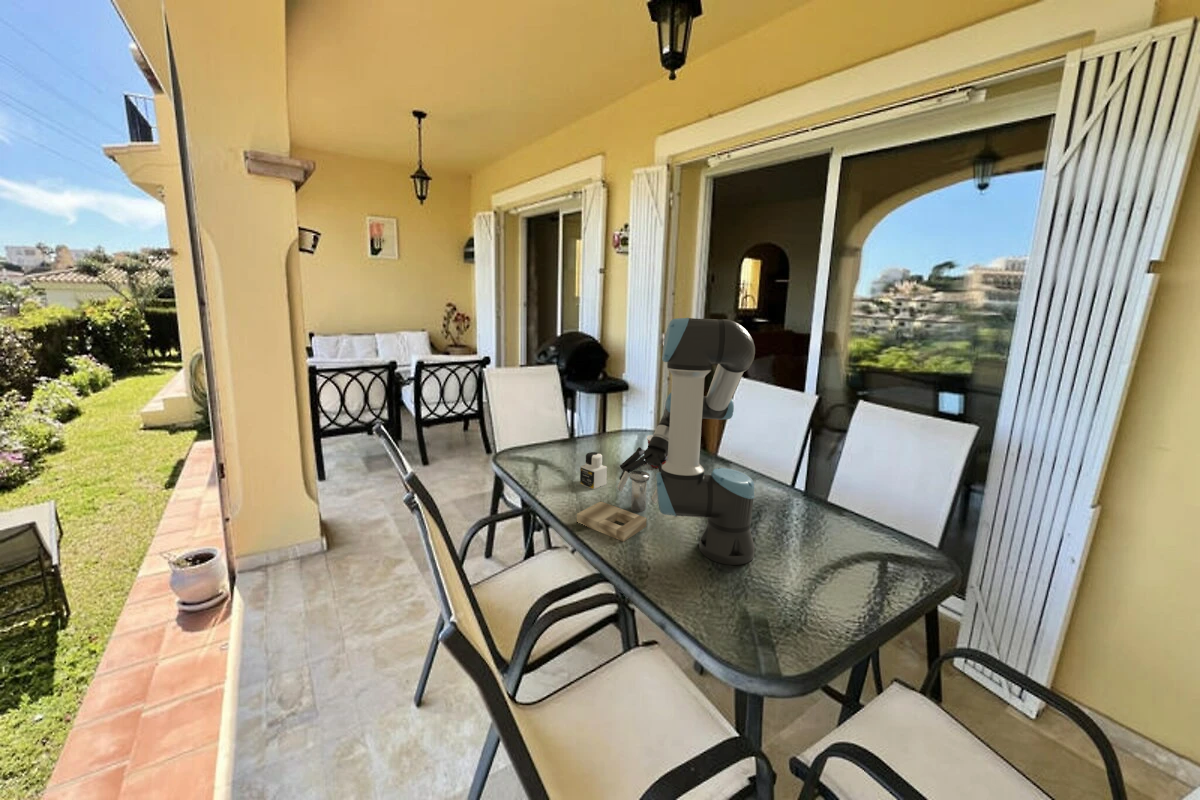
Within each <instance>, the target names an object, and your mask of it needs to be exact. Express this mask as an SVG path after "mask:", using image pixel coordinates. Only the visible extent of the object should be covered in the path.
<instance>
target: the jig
mask: <svg viewBox="0 0 1200 800" xmlns="http://www.w3.org/2000/svg"><path fill="white" fill-rule="evenodd" d="M647 521H648V519H647V517H645V516H642V515H639V514H636V513H635V512H631V511H628V510H626V509H622V508H620V507H618V506H614V505H612V504H609V503H606V502H604V501H599V502H596V503H594V504H593V505H591V506H589V507H587V508H585V509H583V510H581V511H579V512H577V513H576V523H577V522H578V523H577V524H579V523H581V524H583V525H582V526H584V525H585V527H586V526H587V528H589V529H592V530H594V531H596V532H599V533H601V534H603V535H606V536H609V537H611V538H613V539H616V540H618V541H621V542H624V543H625V542H626V541H627V540H629V539H630V538H632V537H633V536H635V535H636V534H638V533H640V532H641V531H642V530H643V529H645V528H647ZM615 522H619V523H623V524H622V525H619V524H617V523H615ZM581 524H580V525H581Z"/></svg>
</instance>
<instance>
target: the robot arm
mask: <svg viewBox="0 0 1200 800" xmlns="http://www.w3.org/2000/svg"><path fill="white" fill-rule="evenodd" d="M755 354H756V346H755V343H754V339H753V338H752V336H751V334H750V333H749V332H748V330H747V329H746V328H745V327H744V326H742V325H741V324H740V323H738V322H736V321H734V320H730V319H726V318H725V319H723V318H722V319H714V318H713V319H712V318H694V317H692V318H690V317H684V318H683V317H681V318H673V319H671V320H670V321H669V323H668V325H667V328H666V333H665V335H664V342H663V348H662V356H661V360H662V362H663V363H666V364H667V365H666V369H667V371H668V372H670V374H671V392H670V393H669V394H668V395H667V398H666V400H665V405H664V409H663V414H662V417H661V418H660V421H659V423H658V425H657V427H656V428H655V431H654V433H653V434H652V435H653V437H652V438H651V440H650V442H649V444H648V443H647V448H646V449H642V448H641V447H639V446H638V448H637V449H636V450H635V452H634V453H633V454H631V455H630V456H629V457H628V458H627V459H626V460H625V461H623V463H621V464H620V465H619V468H620V469H621V470H622V473H621V474H620V476H619V482H618V484H617V485H616V486H617V487H616V488H617V490H618V491H619V492H622V491H624V487H625V485H626V484H627V481H628V480H629V479H630V473H631V472H633V471H636V470H637V469H639V468H640V467H642V466H645V465H649V466H651V465H653V466H655V467H656V466H658V468H657V469H658V472H656V473H655V481H656V482H655V483H656V487H655V490H654V492H653V494H652V496H651V498H650V500H651V501H652V502H653V503H654V504H656V503H657V502H658V509H659V512H660V513H661V514H662V515H666V516H674V517H690V518H691V517H692V518H707V523H706V525H705V527H704V529H703V531H702V533H701V536H700V538H699V544H698V545H699V546H698V549H699V551H700V553H701V554H702V555H704V557H706V558H707V559H709V560H711V561H713V562H715V563H719V564H724V565H729V566H730V565H731V566H734V565H735V566H740V565H743V564H744V565H745V564H748V563H750V562H751V561H752V560H753V559H754V557H755V542H754V540H753V535H752V531H751V524H752V516H753V515H752V514H753V509H754V508H753V507H754V506H753V505H754V499H755V483H754V480H753V479H752V478H751V477H750V476H749V475H747V474H746V473H744V472H742V471H739V470H735V469H731V468H728V467H718V468H713V470H712V471H711V472H710V474H705V469H704V467H703V466H702V465H701V464H700V453H701V452H700V451H701V439H702V438H701V437H702V424H703V423H702V421H703V419H707V420H719V421H721V420H730V419H732V418H733V415H734V410H735V405H734V404H735V403H734V399H733V397H734V394H735V392H736V389H738V388H737V387H738V386H739V382H740V381H741V379H742V376H743V374H744V372H746V371H748V370H749V368H751V366H752V364H753V362H754V359H755V357H756V356H755ZM713 364H714V365H715V364H717V365H716V369H715V372H714V373H713V378H712V380H711V382H710V386H709V387H708V388H709V389H708V392H707V394H706V395H704V394H705V393H704V392H705V378H706V376H707V375H708V374H709V373H711V372H712V365H713ZM667 455H668V456H667ZM665 461H666V463H664V464H663V465H662V463H663V462H665Z"/></svg>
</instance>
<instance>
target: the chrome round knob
mask: <svg viewBox="0 0 1200 800" xmlns="http://www.w3.org/2000/svg"><path fill="white" fill-rule="evenodd" d="M629 475H630V476H629V479H631V482H632V483H631V502H630V509H631V511H633V512H634V513H637V512H638V513H642V512H644V511H646V505H647V504H646V503H647V502H646V501H647V485H648V481H649V480H650V473H649V472H646V471H645V470H644V471H643V470H633V471H632V472H630V473H629Z"/></svg>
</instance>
